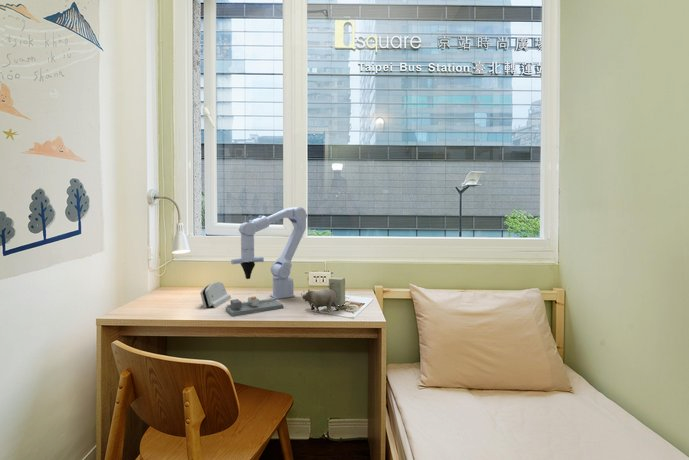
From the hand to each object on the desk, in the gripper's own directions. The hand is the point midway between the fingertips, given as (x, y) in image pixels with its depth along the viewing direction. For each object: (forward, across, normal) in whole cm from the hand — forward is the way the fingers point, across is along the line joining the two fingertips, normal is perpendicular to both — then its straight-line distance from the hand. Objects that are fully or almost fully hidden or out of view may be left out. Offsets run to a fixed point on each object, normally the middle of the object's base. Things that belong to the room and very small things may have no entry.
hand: (247, 278), depth 170 cm
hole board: (+10, +2, +14) cm, 18 cm away
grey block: (+9, +3, +14) cm, 17 cm away
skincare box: (+11, -31, +27) cm, 42 cm away
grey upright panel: (+11, +13, -5) cm, 18 cm away
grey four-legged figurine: (+11, -20, +30) cm, 37 cm away
